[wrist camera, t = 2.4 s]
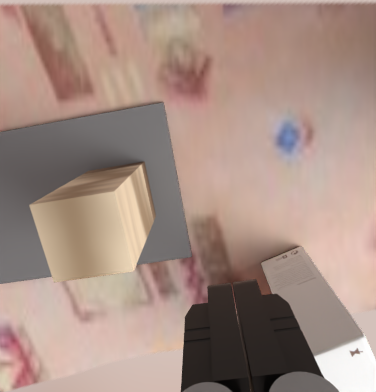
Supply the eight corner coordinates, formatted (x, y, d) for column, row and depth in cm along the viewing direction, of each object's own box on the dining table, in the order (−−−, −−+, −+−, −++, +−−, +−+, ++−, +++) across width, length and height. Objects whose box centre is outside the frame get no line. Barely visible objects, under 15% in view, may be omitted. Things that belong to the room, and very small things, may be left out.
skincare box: (258, 262, 30) (295, 359, 18) (301, 244, 29) (367, 333, 18) (282, 312, 31) (331, 433, 20) (324, 296, 31) (399, 411, 19)
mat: (163, 102, 26) (162, 102, 26) (191, 255, 30) (191, 256, 29) (-60, 143, 28) (-63, 143, 27) (-7, 283, 31) (-10, 285, 31)
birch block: (144, 161, 27) (114, 191, 18) (156, 215, 28) (133, 271, 19) (88, 170, 28) (29, 205, 18) (102, 224, 29) (53, 282, 19)
